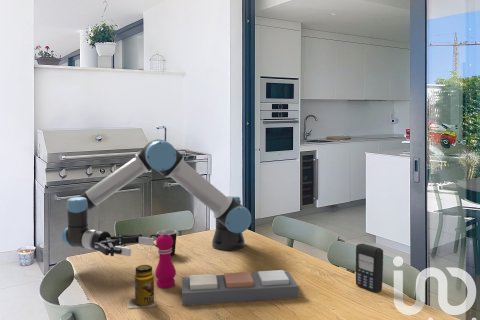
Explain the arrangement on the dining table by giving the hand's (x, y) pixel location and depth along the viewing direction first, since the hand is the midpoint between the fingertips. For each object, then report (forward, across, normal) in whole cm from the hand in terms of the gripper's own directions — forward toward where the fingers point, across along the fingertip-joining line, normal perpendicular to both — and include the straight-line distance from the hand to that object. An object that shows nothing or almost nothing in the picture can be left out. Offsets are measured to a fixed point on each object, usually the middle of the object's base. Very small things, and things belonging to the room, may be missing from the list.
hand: (142, 247), depth 158 cm
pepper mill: (+10, 0, -13) cm, 16 cm away
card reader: (+77, -26, -12) cm, 82 cm away
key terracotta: (+37, -4, -10) cm, 39 cm away
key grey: (+47, -10, -10) cm, 49 cm away
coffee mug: (-11, -30, -13) cm, 34 cm away
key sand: (+27, +2, -10) cm, 29 cm away
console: (+37, -4, -12) cm, 39 cm away
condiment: (+12, +15, -13) cm, 23 cm away
